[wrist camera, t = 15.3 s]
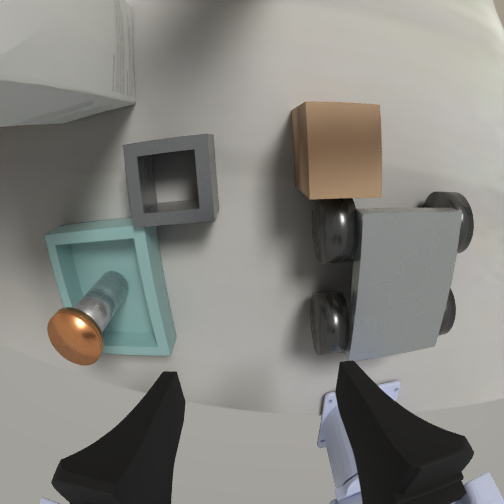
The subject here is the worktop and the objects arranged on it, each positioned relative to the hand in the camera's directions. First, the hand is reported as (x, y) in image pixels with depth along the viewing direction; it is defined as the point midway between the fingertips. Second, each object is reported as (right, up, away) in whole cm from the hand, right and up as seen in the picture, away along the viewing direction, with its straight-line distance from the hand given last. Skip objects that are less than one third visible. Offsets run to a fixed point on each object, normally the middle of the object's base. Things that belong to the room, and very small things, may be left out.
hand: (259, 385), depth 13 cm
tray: (-11, +3, +10) cm, 15 cm away
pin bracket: (-5, +11, +7) cm, 14 cm away
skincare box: (-11, +19, +4) cm, 22 cm away
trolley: (+9, +5, +9) cm, 14 cm away
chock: (+4, +13, +7) cm, 15 cm away
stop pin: (-11, +3, +9) cm, 14 cm away
